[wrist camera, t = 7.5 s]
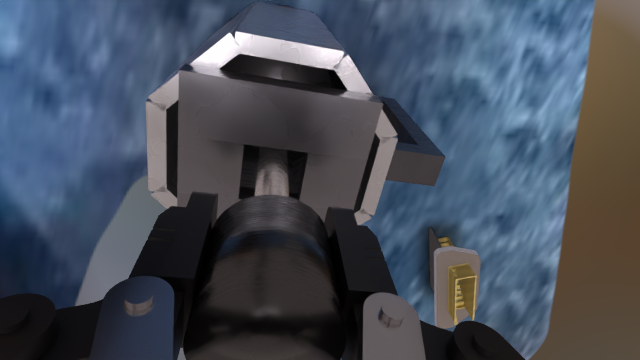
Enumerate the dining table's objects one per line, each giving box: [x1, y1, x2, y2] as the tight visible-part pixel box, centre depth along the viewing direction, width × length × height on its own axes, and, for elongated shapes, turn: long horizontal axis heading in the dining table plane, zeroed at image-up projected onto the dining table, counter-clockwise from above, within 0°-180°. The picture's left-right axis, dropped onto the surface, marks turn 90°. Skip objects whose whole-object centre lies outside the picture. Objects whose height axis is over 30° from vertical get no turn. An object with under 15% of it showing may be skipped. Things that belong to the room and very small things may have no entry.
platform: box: [429, 227, 481, 329], centre depth 35 cm, size 12×18×6 cm, turn 9°
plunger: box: [183, 53, 346, 360], centre depth 16 cm, size 7×7×18 cm
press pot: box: [146, 1, 445, 225], centre depth 21 cm, size 10×13×15 cm
